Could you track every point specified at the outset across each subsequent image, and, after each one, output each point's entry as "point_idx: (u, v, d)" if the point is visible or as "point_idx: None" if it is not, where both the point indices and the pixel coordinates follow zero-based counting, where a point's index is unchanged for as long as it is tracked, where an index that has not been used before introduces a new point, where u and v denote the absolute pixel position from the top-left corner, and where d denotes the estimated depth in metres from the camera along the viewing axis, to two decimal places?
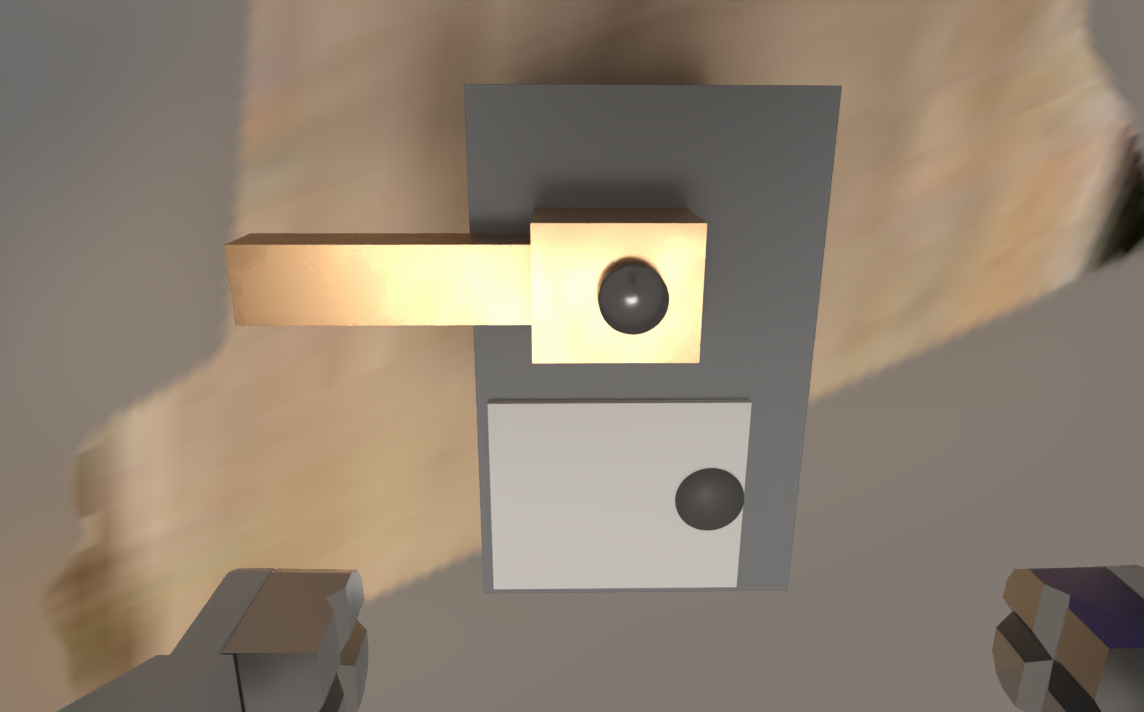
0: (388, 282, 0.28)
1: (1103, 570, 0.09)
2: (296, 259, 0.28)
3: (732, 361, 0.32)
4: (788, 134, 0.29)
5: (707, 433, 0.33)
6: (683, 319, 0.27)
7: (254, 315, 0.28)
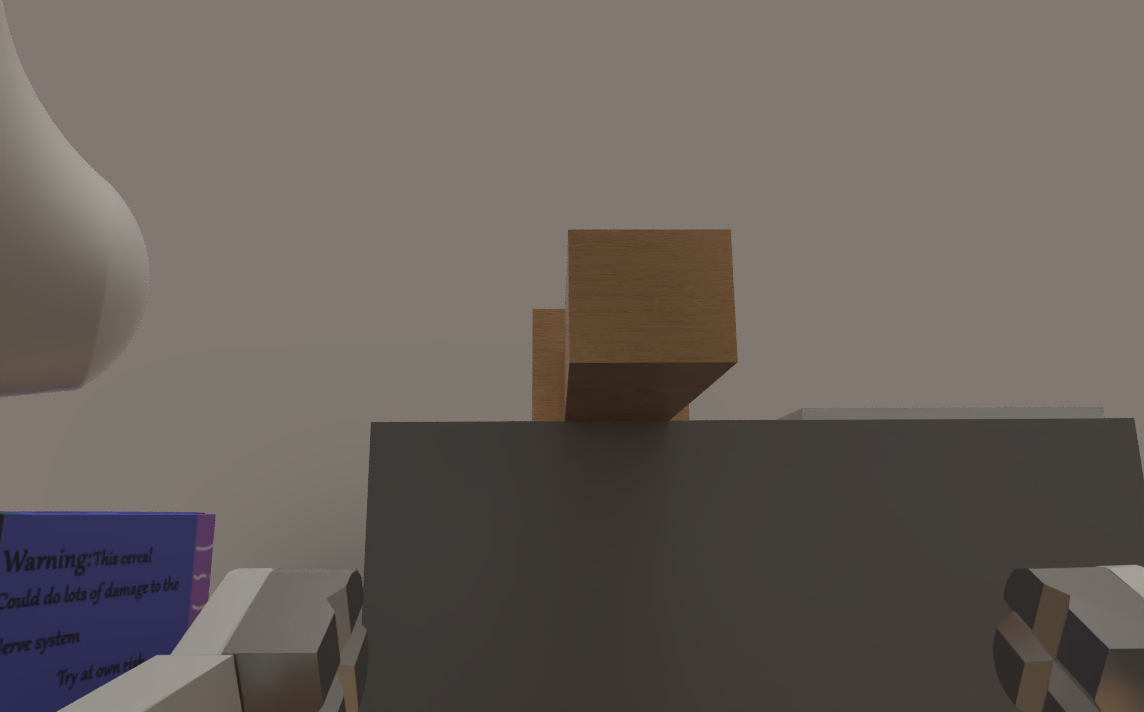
0: None
1: (1103, 570, 0.09)
2: None
3: None
4: None
5: None
6: None
7: None
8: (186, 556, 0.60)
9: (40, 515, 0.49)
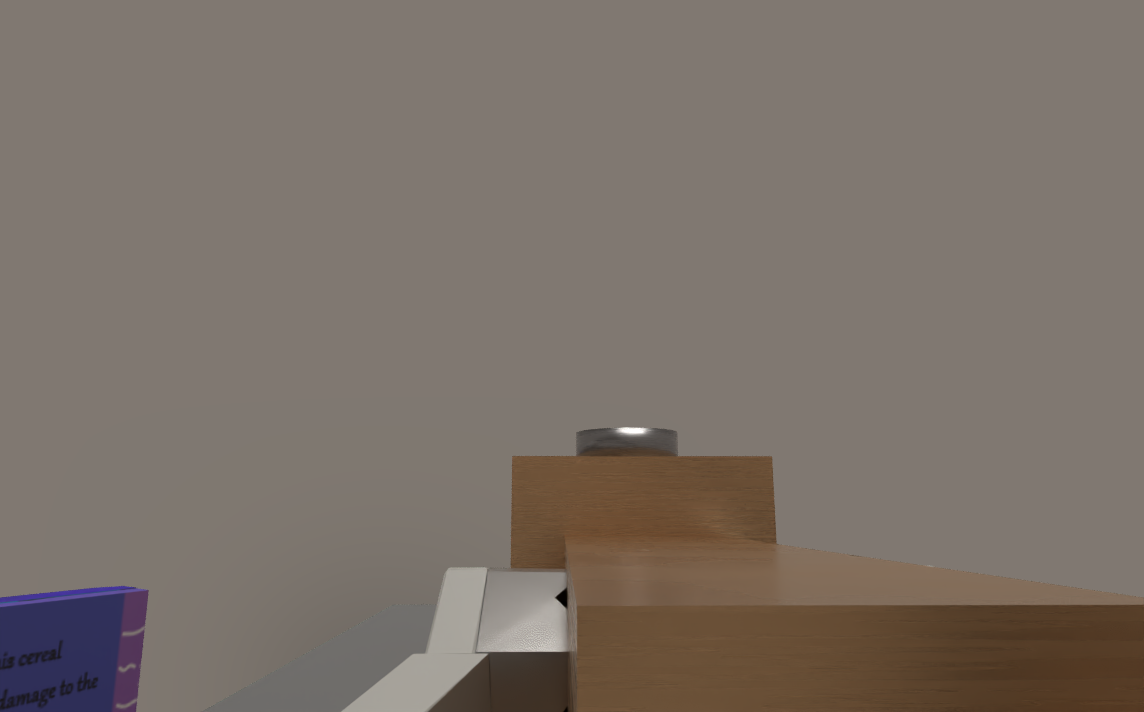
0: (681, 549, 0.09)
1: None
2: (636, 568, 0.06)
3: None
4: None
5: None
6: None
7: (1024, 589, 0.04)
8: (109, 645, 0.50)
9: None
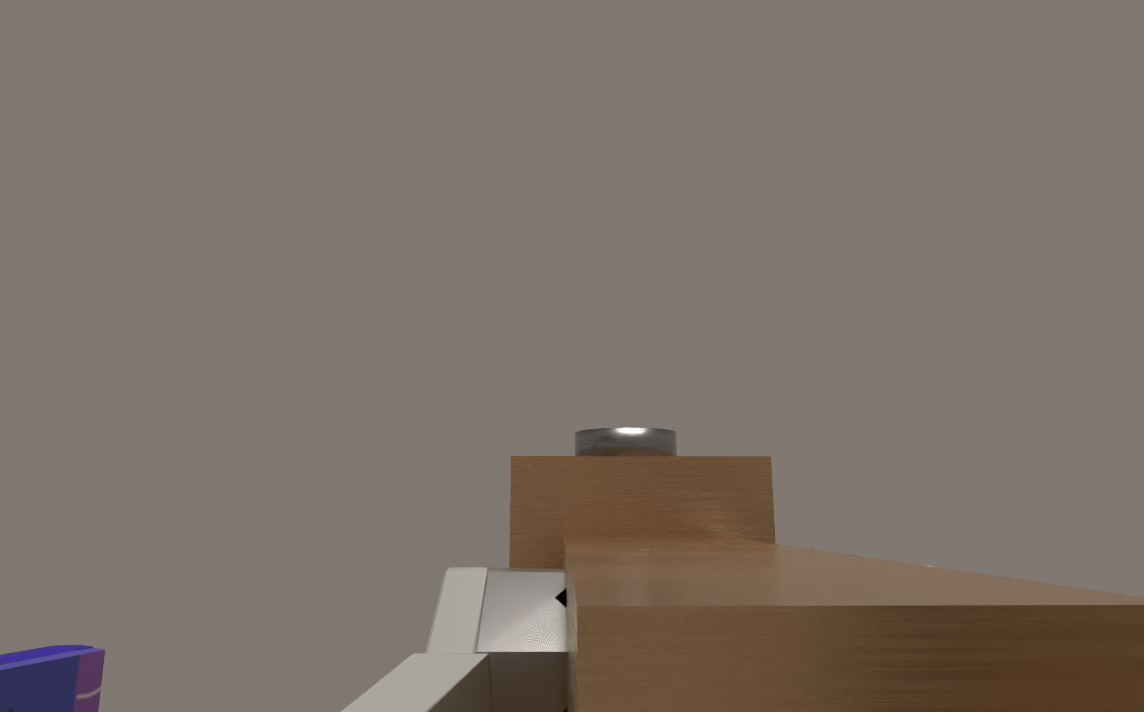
0: (680, 549, 0.09)
1: None
2: (635, 568, 0.06)
3: None
4: None
5: None
6: None
7: (1023, 589, 0.04)
8: (62, 709, 0.49)
9: None
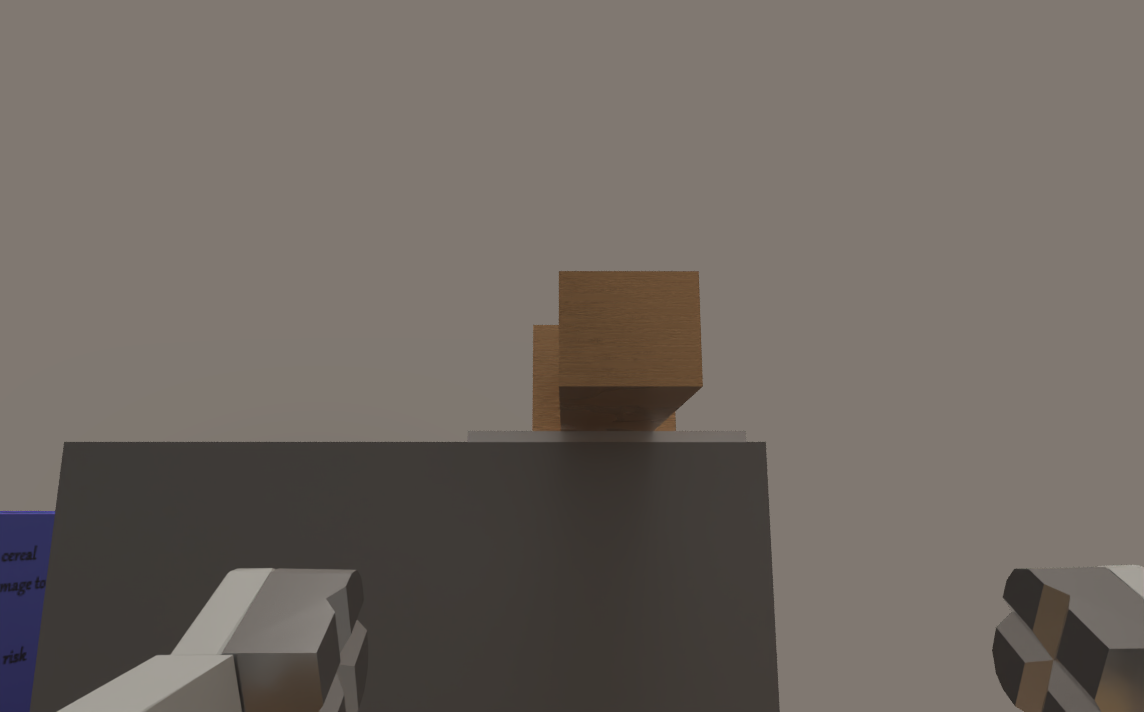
0: None
1: (1103, 570, 0.09)
2: None
3: None
4: None
5: None
6: None
7: None
8: None
9: None
